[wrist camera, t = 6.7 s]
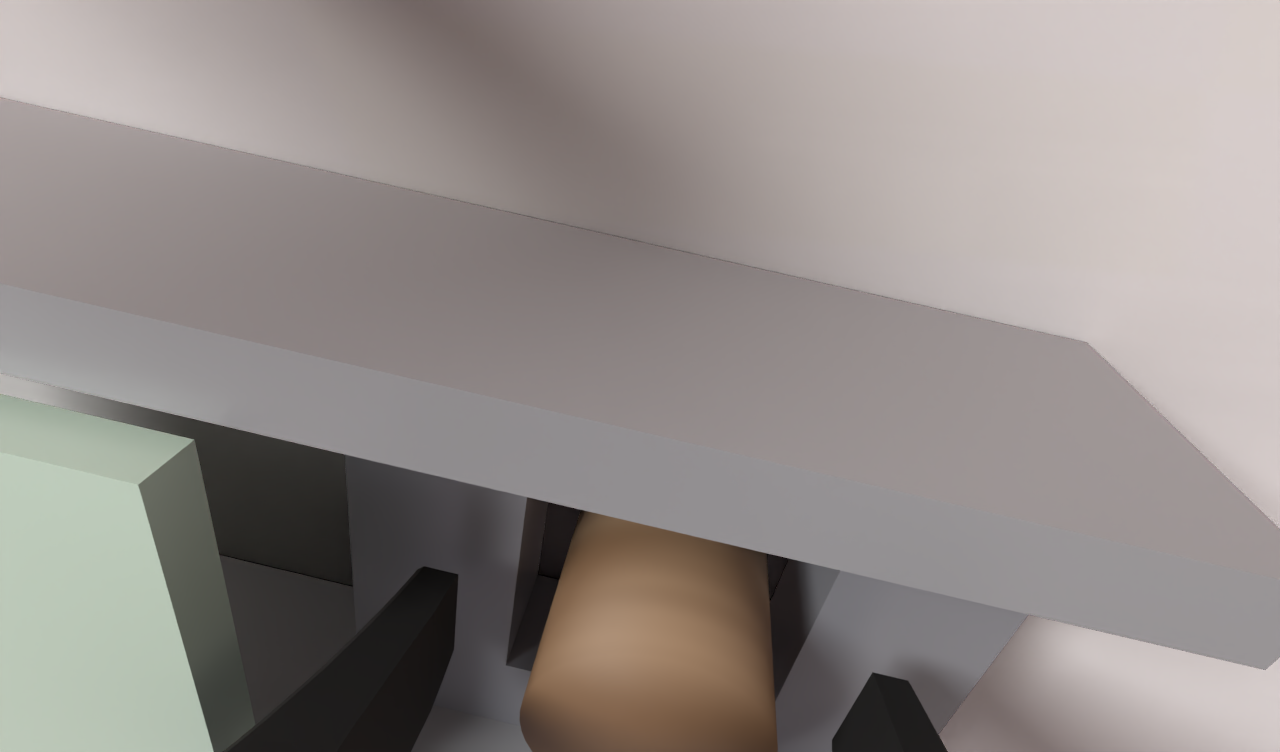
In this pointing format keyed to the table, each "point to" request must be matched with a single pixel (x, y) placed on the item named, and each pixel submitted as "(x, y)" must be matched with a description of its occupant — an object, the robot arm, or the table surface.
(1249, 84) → the table surface
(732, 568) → the tan rounded cylinder
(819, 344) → the housing
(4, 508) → the lid
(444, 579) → the robot arm
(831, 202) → the table surface
